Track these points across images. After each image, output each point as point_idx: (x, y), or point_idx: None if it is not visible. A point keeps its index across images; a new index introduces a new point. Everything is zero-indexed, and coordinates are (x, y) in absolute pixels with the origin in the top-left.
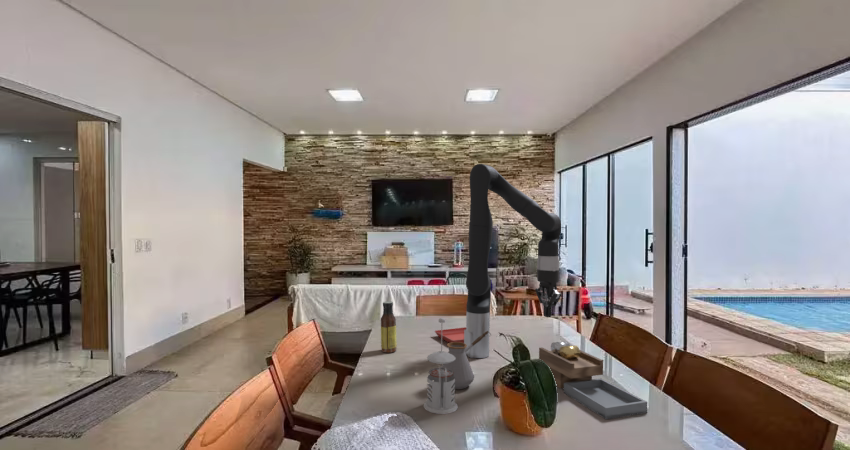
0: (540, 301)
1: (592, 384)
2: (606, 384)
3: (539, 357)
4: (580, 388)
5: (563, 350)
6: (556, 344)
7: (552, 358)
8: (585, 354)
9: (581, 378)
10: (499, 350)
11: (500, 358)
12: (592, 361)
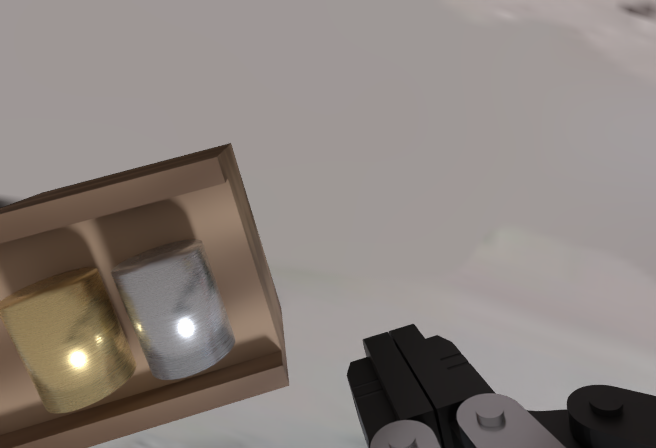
0: (600, 403)
1: None
2: None
3: (218, 152)
4: None
5: (38, 294)
6: (124, 277)
7: (56, 197)
8: (78, 426)
9: None
10: (638, 40)
11: (505, 2)
12: (23, 430)
